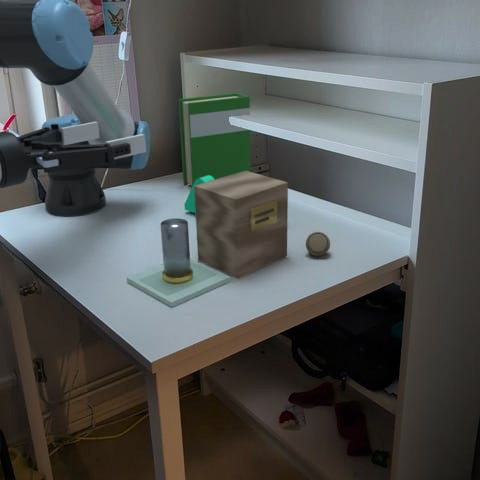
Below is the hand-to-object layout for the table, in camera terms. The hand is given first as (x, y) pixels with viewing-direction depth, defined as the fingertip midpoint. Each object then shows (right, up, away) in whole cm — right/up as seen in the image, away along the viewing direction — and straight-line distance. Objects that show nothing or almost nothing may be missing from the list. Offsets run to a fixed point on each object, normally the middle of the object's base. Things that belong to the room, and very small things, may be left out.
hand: (119, 136), depth 98 cm
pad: (+8, -25, +18) cm, 32 cm away
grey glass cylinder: (+8, -24, +17) cm, 30 cm away
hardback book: (+13, -1, +74) cm, 75 cm away
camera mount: (+13, -11, +51) cm, 54 cm away
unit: (+20, -21, +27) cm, 40 cm away
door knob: (+36, -20, +28) cm, 50 cm away
